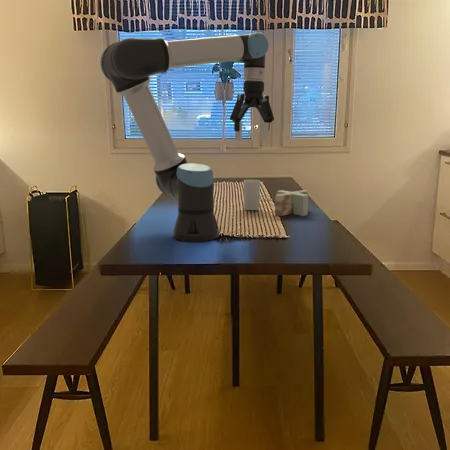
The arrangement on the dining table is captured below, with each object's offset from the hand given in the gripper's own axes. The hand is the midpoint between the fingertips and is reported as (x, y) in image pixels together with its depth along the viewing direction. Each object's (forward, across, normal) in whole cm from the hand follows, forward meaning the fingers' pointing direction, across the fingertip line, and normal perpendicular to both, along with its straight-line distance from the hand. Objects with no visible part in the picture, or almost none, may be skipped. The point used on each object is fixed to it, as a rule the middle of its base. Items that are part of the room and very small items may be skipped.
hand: (251, 140), depth 173 cm
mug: (+29, +12, +11) cm, 33 cm away
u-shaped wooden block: (+29, +18, -5) cm, 35 cm away
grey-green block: (+29, +18, -5) cm, 35 cm away
